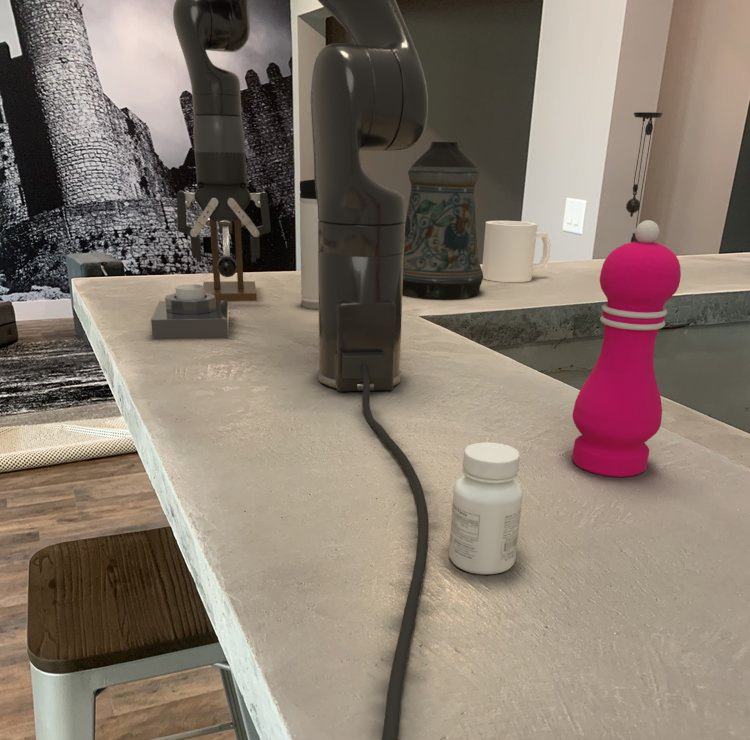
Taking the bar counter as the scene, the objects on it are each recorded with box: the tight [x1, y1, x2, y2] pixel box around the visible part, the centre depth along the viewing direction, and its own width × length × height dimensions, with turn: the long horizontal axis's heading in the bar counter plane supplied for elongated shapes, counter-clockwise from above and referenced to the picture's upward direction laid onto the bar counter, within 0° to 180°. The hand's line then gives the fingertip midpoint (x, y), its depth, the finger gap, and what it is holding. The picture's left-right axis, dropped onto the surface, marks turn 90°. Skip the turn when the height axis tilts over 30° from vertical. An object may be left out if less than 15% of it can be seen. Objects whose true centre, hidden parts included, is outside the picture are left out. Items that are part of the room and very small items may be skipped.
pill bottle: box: [448, 441, 524, 575], centre depth 49 cm, size 4×4×8 cm
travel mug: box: [299, 178, 319, 310], centre depth 122 cm, size 6×7×20 cm
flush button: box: [174, 283, 205, 300], centre depth 107 cm, size 4×4×2 cm
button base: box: [150, 292, 230, 340], centre depth 109 cm, size 13×10×4 cm
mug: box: [481, 220, 552, 283], centre depth 155 cm, size 14×10×11 cm
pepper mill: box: [571, 219, 682, 478], centre depth 62 cm, size 7×7×20 cm
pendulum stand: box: [202, 219, 258, 302], centre depth 131 cm, size 12×9×14 cm
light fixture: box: [625, 111, 664, 242], centre depth 163 cm, size 10×8×31 cm
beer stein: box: [402, 141, 483, 300], centre depth 137 cm, size 16×19×25 cm
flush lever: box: [217, 220, 237, 278], centre depth 125 cm, size 14×3×3 cm
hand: (226, 261), depth 122 cm, fingers open, 8 cm apart
